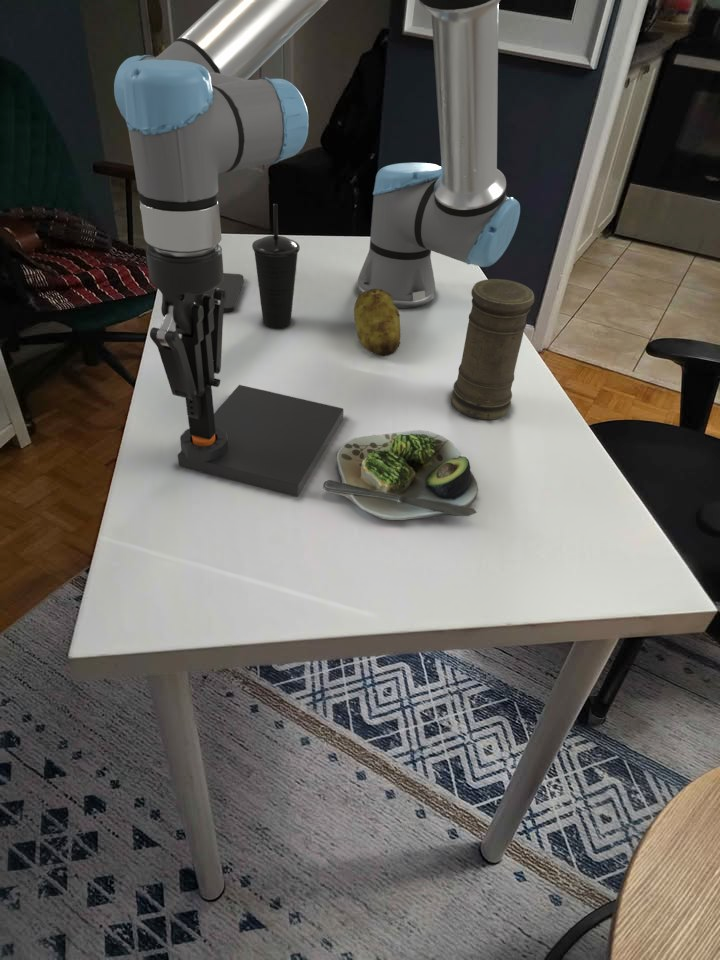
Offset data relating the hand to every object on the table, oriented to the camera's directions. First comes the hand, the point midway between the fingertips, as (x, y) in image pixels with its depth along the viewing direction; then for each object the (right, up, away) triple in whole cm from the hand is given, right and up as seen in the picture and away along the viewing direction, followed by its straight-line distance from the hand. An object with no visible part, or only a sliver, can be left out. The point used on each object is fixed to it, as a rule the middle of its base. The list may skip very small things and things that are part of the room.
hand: (202, 433), depth 80 cm
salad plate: (+26, -6, +2) cm, 27 cm away
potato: (+22, +17, +30) cm, 41 cm away
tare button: (0, -1, +1) cm, 2 cm away
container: (+38, +6, +18) cm, 42 cm away
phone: (-7, +29, +41) cm, 50 cm away
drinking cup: (+5, +22, +34) cm, 40 cm away
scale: (+7, -1, +7) cm, 10 cm away
